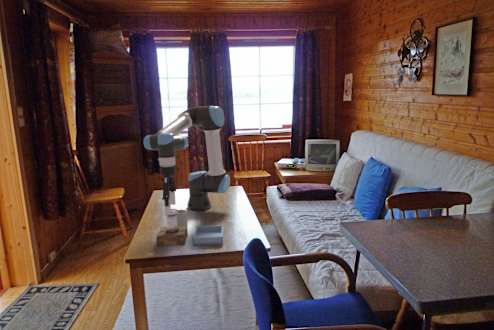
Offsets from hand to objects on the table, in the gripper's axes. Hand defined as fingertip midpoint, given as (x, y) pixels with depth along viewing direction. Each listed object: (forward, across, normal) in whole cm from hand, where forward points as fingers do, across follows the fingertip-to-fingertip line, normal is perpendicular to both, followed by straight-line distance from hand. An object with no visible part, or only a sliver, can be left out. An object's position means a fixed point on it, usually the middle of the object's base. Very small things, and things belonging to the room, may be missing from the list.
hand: (170, 208), depth 177 cm
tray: (+17, 0, +18) cm, 25 cm away
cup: (+17, -18, 0) cm, 25 cm away
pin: (+17, 0, 0) cm, 17 cm away
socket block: (+17, 0, 0) cm, 17 cm away
